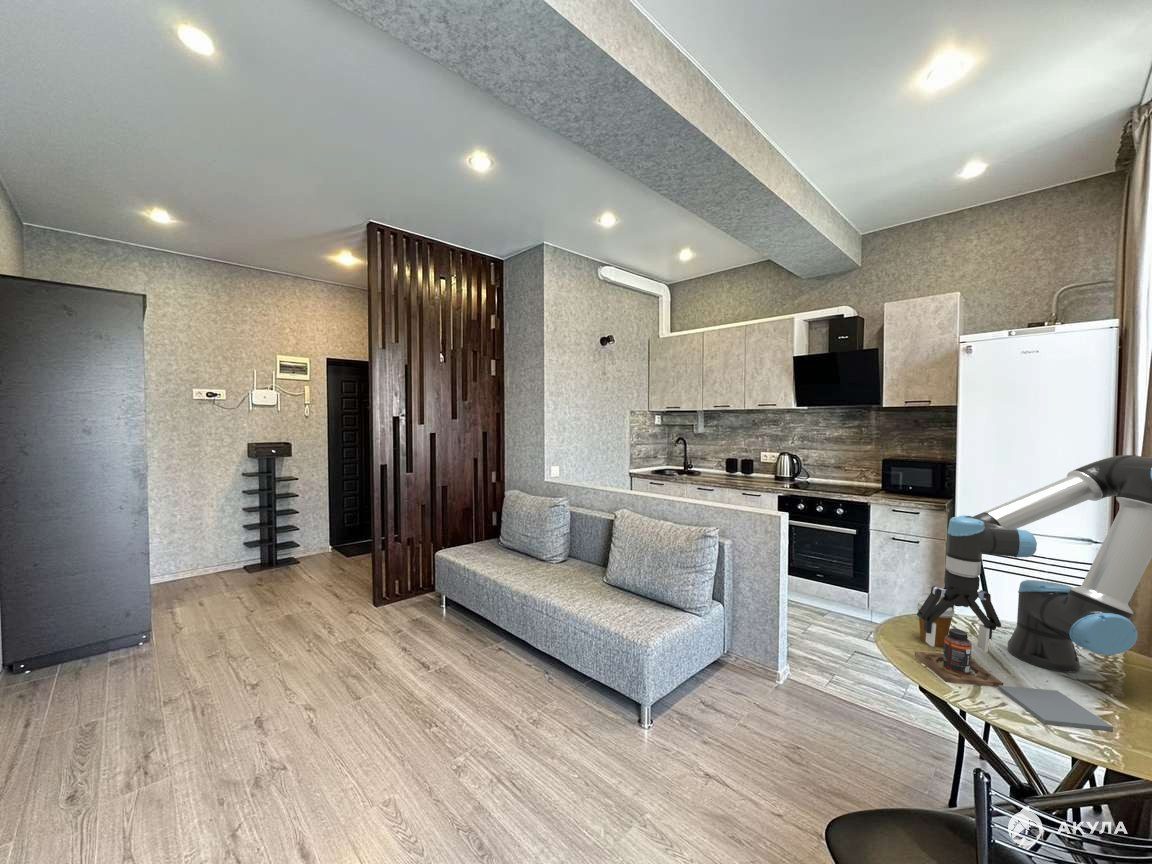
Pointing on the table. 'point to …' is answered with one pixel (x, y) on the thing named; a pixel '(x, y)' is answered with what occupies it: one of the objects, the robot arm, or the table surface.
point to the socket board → (950, 676)
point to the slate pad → (1054, 708)
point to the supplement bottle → (957, 652)
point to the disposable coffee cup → (937, 625)
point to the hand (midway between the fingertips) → (956, 646)
